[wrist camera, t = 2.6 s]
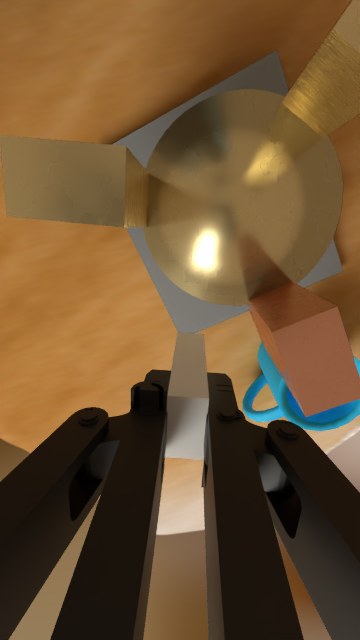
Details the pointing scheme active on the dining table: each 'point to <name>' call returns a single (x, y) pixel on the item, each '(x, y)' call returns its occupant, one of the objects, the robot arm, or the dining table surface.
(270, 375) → the mug
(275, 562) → the robot arm
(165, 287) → the post base
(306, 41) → the dining table surface
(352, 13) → the three-blade desk fan
